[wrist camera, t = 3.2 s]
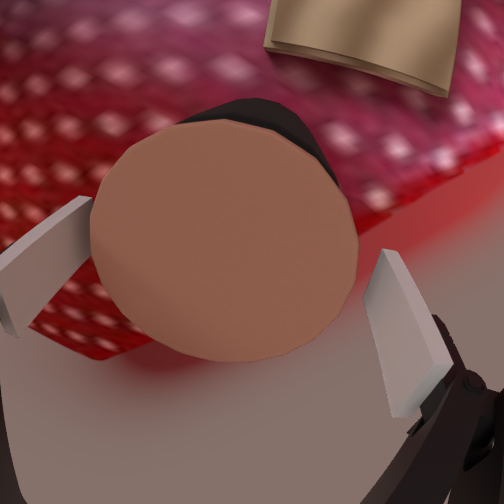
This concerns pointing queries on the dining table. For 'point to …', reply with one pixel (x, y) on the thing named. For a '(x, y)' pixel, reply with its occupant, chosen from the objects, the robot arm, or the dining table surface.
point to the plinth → (372, 37)
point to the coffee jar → (226, 234)
